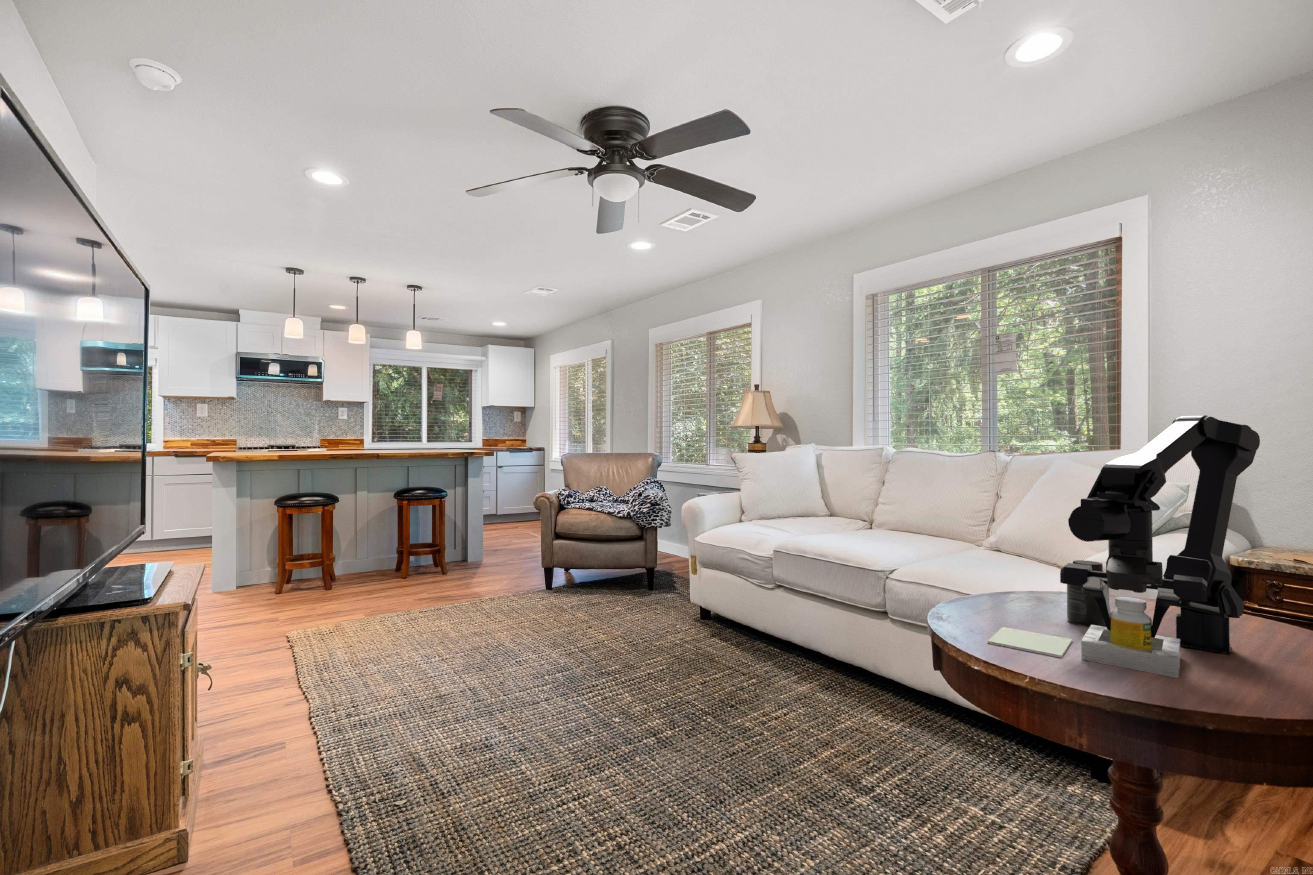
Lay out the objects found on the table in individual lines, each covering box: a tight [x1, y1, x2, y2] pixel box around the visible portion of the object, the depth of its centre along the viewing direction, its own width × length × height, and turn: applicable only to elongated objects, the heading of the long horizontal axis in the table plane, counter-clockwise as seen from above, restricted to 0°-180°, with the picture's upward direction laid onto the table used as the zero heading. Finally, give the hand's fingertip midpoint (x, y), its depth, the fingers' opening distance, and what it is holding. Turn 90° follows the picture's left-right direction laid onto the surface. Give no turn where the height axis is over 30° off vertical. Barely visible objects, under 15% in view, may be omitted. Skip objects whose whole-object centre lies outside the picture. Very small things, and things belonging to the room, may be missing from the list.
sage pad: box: [987, 626, 1073, 659], centre depth 107 cm, size 11×11×1 cm
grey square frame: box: [1080, 625, 1181, 679], centre depth 99 cm, size 12×12×3 cm
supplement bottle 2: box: [1110, 596, 1153, 650], centre depth 99 cm, size 5×5×10 cm
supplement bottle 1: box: [1066, 559, 1110, 628], centre depth 119 cm, size 7×7×12 cm
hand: (1130, 633), depth 99 cm, fingers closed on supplement bottle 2, 5 cm apart
